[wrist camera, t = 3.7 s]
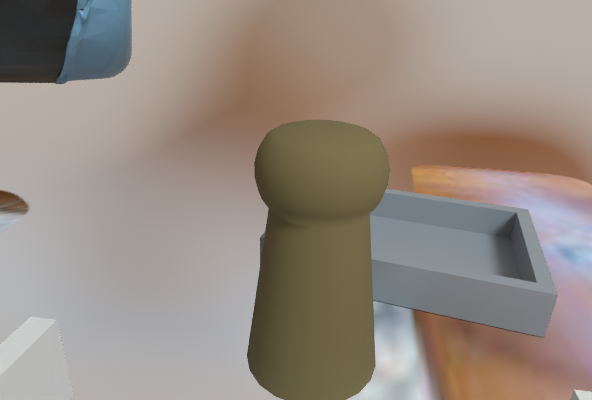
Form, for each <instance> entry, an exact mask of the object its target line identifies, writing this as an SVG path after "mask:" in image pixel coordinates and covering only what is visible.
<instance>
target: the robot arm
mask: <svg viewBox="0 0 592 400" xmlns="http://www.w3.org/2000/svg"><path fill="white" fill-rule="evenodd" d="M131 33H132V30H131V0H0V82H18V83H24V82H25V83H27V82H28V83H56V84H64V83H66V82H67V81H72V80H87V79H102V78H110V77H113V76H115V75H117V74H119V73H121V72H122V71H123V70H124V69H125V68H126V66H127V65H128V63H129V61H130V58H131V50H132V39H131V38H132V37H131V36H132V35H131ZM73 396H74V393H73V388H72V384H71V380H70V376H69V371H68V367H67V363H66V358H65V354H64V350H63V345H62V341H61V337H60V333H59V328H58V324H57V320H53V319H46V318H38V317H30V318H29V319H28V320H26V322H24V323H23V324H22V325H21V326H20V327H19V328H18V329H17V330H15V331H14V332H13V333H12V334H11V335H10V336H9V337H8V338H7V339H6V340H4V341H3V342H2V343H1V344H0V400H71V398H72V397H73ZM570 400H592V392H587V391H580V390H574V391H573V393H572V396H571V399H570Z"/></svg>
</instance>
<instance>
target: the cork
mask: <svg viewBox="0 0 592 400" xmlns="http://www.w3.org/2000/svg"><path fill="white" fill-rule="evenodd" d="M389 172H390V169H389V161H388V155H387V152H386V150H385V148H384V146H383V144H382V142H381V139H380V138H379V137H377V136H376V135H375V134H373V133H372V132H370V131H369V130H367V129H366V128H363V127H360V126H357V125H353V124H348V123H344V122H339V121H331V120H306V121H298V122H290V123H287V124H283V125H280V126H279V127H277V128H275V129H273V130H271V131H270V132H268V133H267V135H266V136H265V138H264V139H263V141H262V143H261V144H260V146H259V148H258V151H257V155H256V159H255V179H256V183H257V187H258V191H259V193H260V196H261V198H262V200H263V201H264V202H265V204H266V205H267V206H268V208H269V211H268V218H267V224H266V231H265V238H264V245H263V251H262V258H261V265H260V272H259V279H258V286H257V292H256V299H255V306H254V313H253V319H252V326H251V333H250V339H249V346H248V353H247V358H248V363H249V368H250V371H251V373H252V374H253V375H254V377H255V379H256V380H257V381H258V383H259V384H260V385H261V386H262V387H264V388H265V389H266V390H268V391H269V392H270V393H272V394H273V395H274V396H276V397H279V398H281V399H284V400H346V399H348V398H350V397H352V396H354V395H356V394H358V393H359V392H360V391H361V390H362V389H363V388H364V387H365V386H366V384H367V383H368V382H369V381H370V380H371V377H372V374H373V371H374V368H375V343H374V315H373V287H372V259H371V231H370V213H371V212H372V211H373V210H374V209H375V208H376V207H377V206H378V205H379V203H380V201H381V200H382V198H383V195H384V193H385V190H386V188H387V185H388V179H389Z"/></svg>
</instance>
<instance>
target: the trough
mask: <svg viewBox="0 0 592 400" xmlns="http://www.w3.org/2000/svg"><path fill="white" fill-rule="evenodd" d="M370 231H371V259H372V287H373V300H375V301H380V302H384V303H389V304H393V305H398V306H402V307H407V308H412V309H416V310H421V311H425V312H430V313H434V314H439V315H444V316H448V317H453V318H457V319H462V320H466V321H471V322H476V323H480V324H485V325H489V326H494V327H498V328H503V329H507V330H512V331H517V332H521V333H526V334H530V335H535V336H539V337H544V336H545V333H546V330H547V327H548V324H549V321H550V318H551V315H552V312H553V309H554V305H555V302H556V299H557V296H558V294H557V291H556V288H555V286H554V283H553V280H552V277H551V274H550V271H549V268H548V266H547V263H546V260H545V257H544V254H543V251H542V248H541V246H540V243H539V240H538V237H537V234H536V231H535V228H534V225H533V223H532V220H531V217H530V214H529V211H528V210H527V209H520V208H514V207H507V206H500V205H493V204H486V203H480V202H473V201H466V200H459V199H452V198H445V197H439V196H432V195H425V194H418V193H411V192H405V191H397V190H391V189H386V190H385V193H384V195H383V198H382V200H381V201H380V203H379V205H378V206H377V207H376V208H375V209H374V210H373V211H372V212H371V213H370ZM264 238H265V233H264V234H263V235H262V236H261V237H260V265H261V258H262V251H263V245H264Z"/></svg>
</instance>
